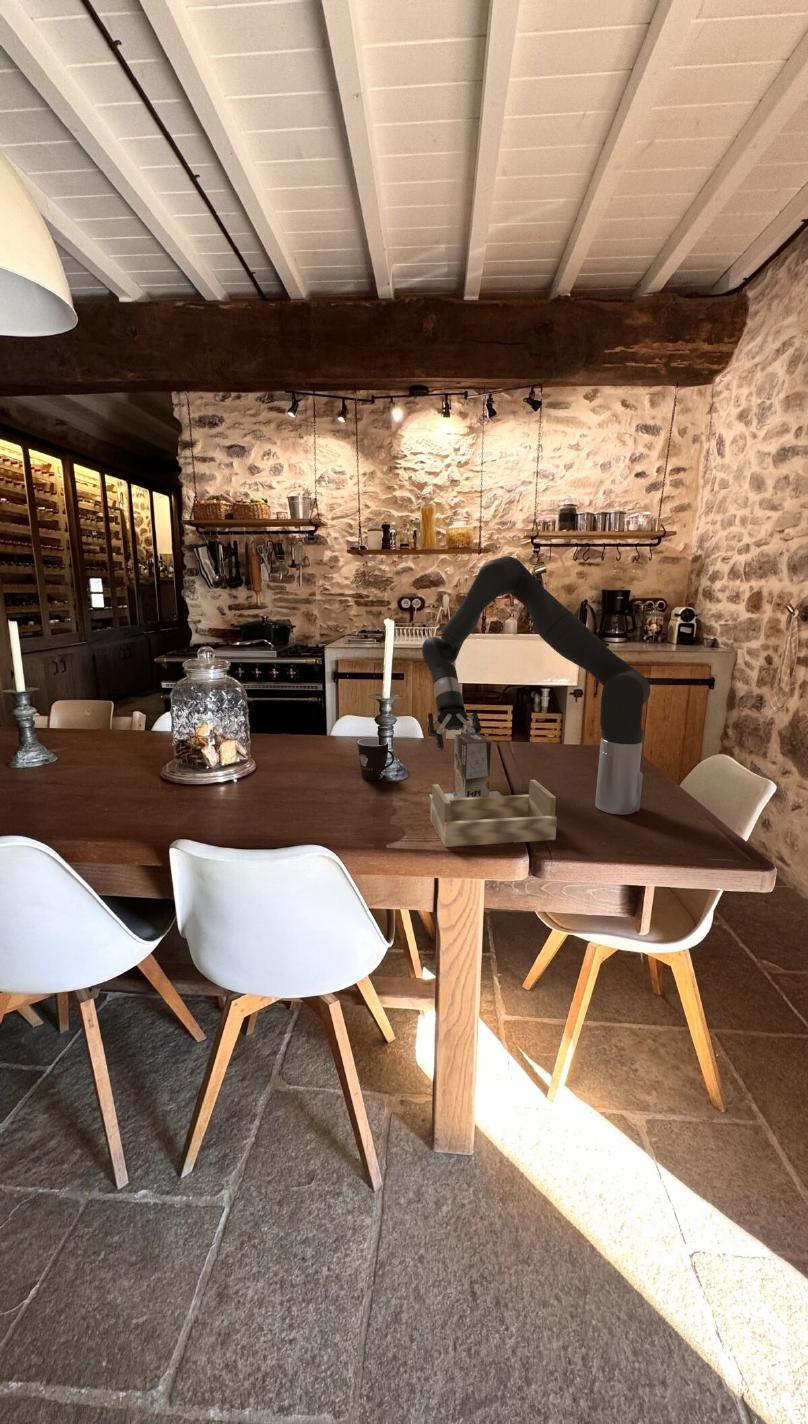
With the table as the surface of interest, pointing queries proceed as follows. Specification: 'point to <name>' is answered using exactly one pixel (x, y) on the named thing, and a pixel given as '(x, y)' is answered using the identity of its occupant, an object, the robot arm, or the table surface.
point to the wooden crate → (494, 817)
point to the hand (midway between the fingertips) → (457, 748)
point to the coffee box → (471, 766)
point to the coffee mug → (373, 758)
